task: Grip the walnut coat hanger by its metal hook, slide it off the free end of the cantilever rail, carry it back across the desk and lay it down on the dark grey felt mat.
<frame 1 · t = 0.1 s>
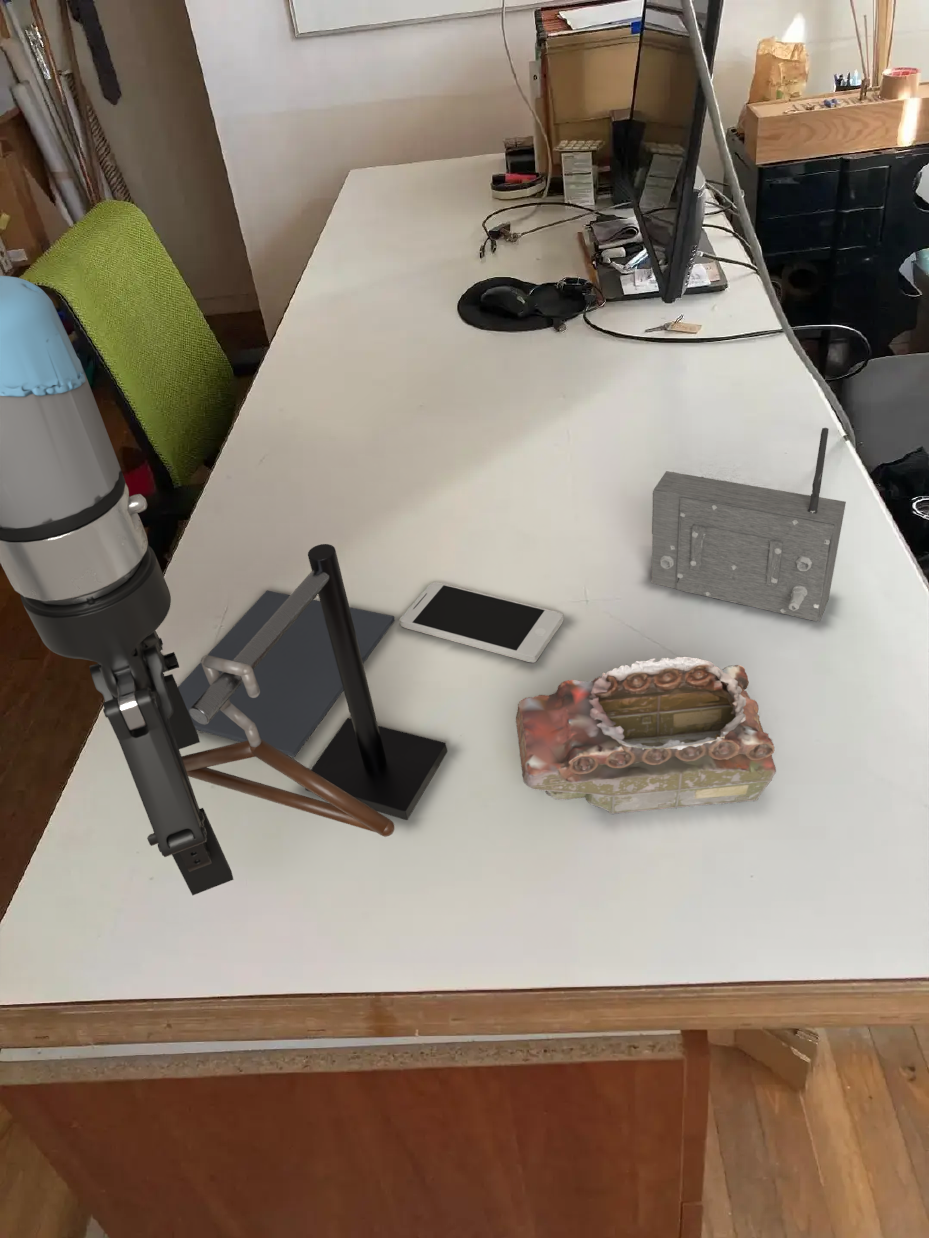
hand: (195, 809, 65), 11 cm above the table, tool pointing down, fingers open, 13 cm apart
smartphone: (481, 624, 95), on the table
electronic device: (731, 600, 94), on the table
rail stand: (377, 770, 81), on the table
felt mat: (279, 667, 93), on the table
decorative box: (642, 798, 76), on the table
hanger: (233, 683, 59), point 22 cm above the table, touching rail stand
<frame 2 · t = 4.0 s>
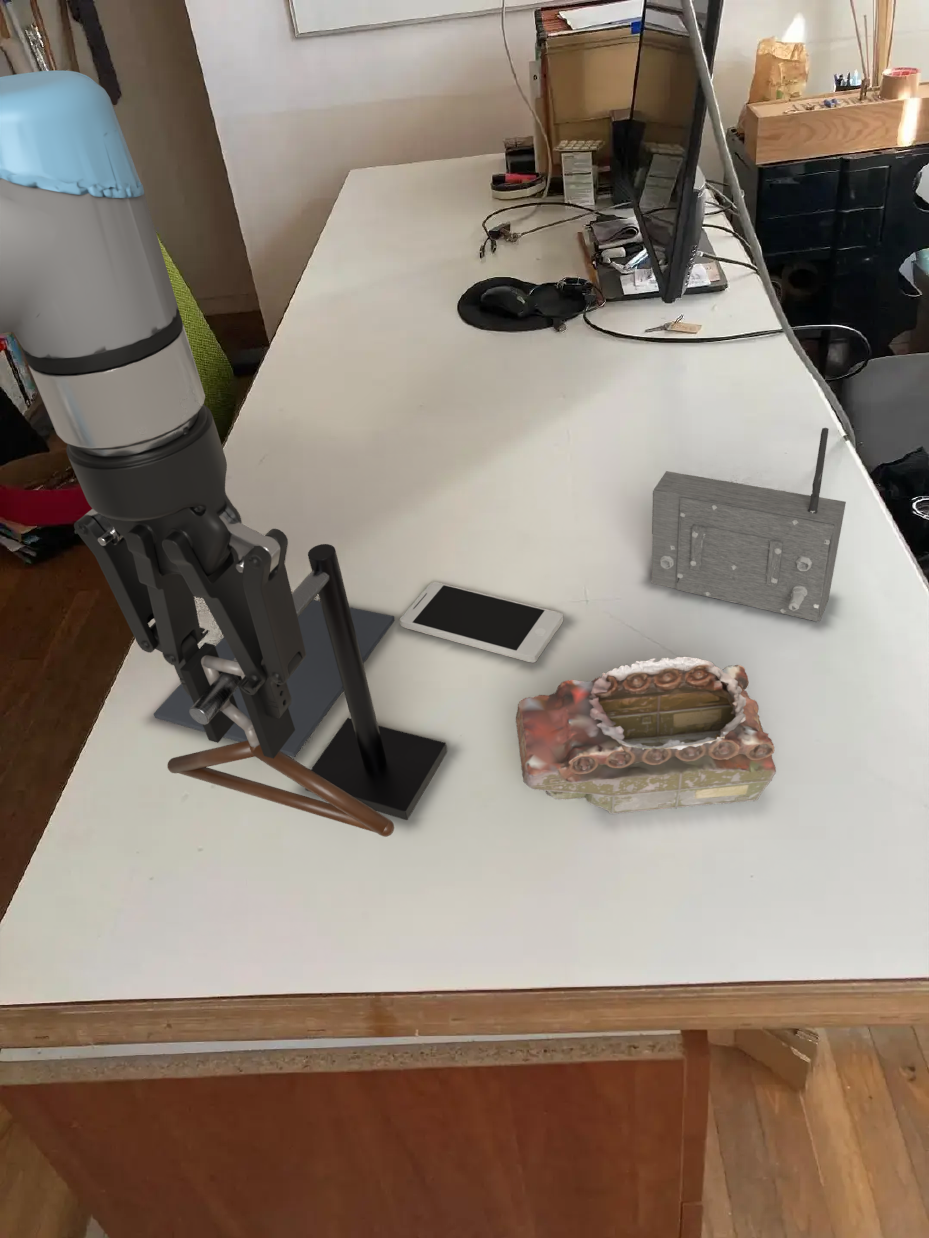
hand: (251, 734, 62), 17 cm above the table, tool pointing down, fingers closed on hanger, 4 cm apart
hanger: (233, 683, 59), point 22 cm above the table, touching gripper, rail stand
everything else where it was.
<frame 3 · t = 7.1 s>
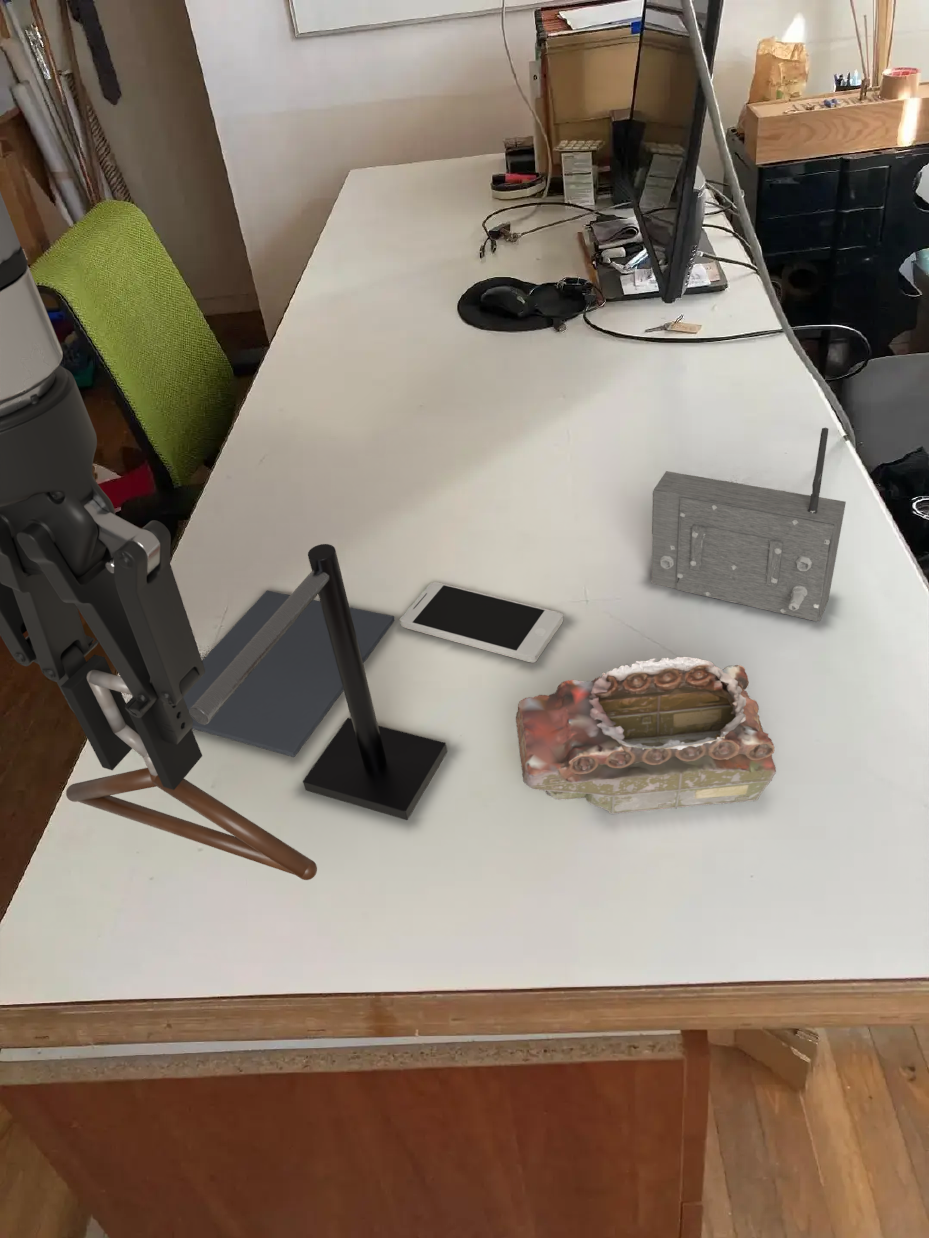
hand: (152, 760, 54), 22 cm above the table, tool pointing down, fingers closed on hanger, 4 cm apart
hanger: (125, 702, 51), point 27 cm above the table, touching gripper
everything else where it was.
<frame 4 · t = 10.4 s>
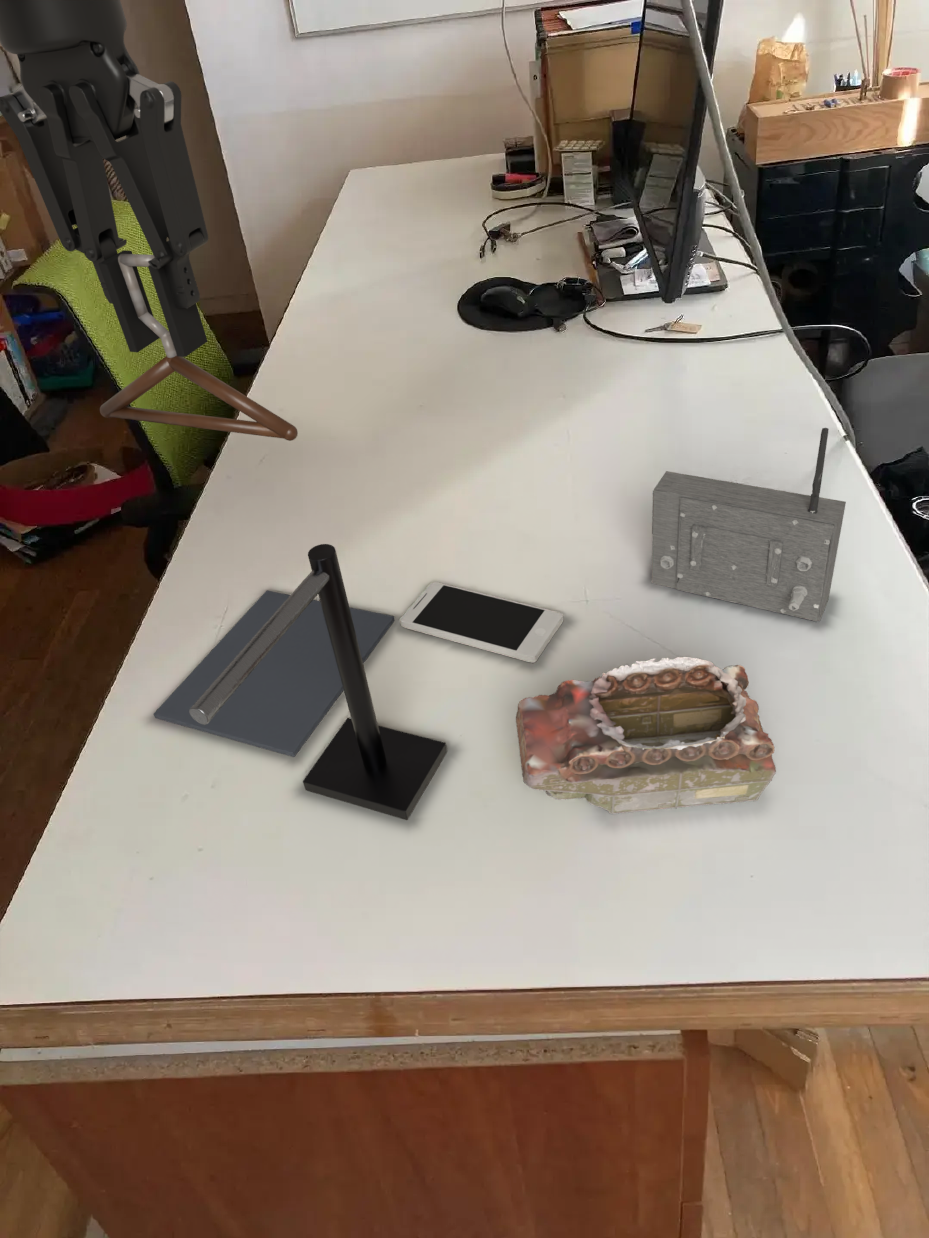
hand: (168, 346, 69), 35 cm above the table, tool pointing down, fingers closed on hanger, 4 cm apart
hanger: (147, 281, 66), point 40 cm above the table, touching gripper
everything else where it was.
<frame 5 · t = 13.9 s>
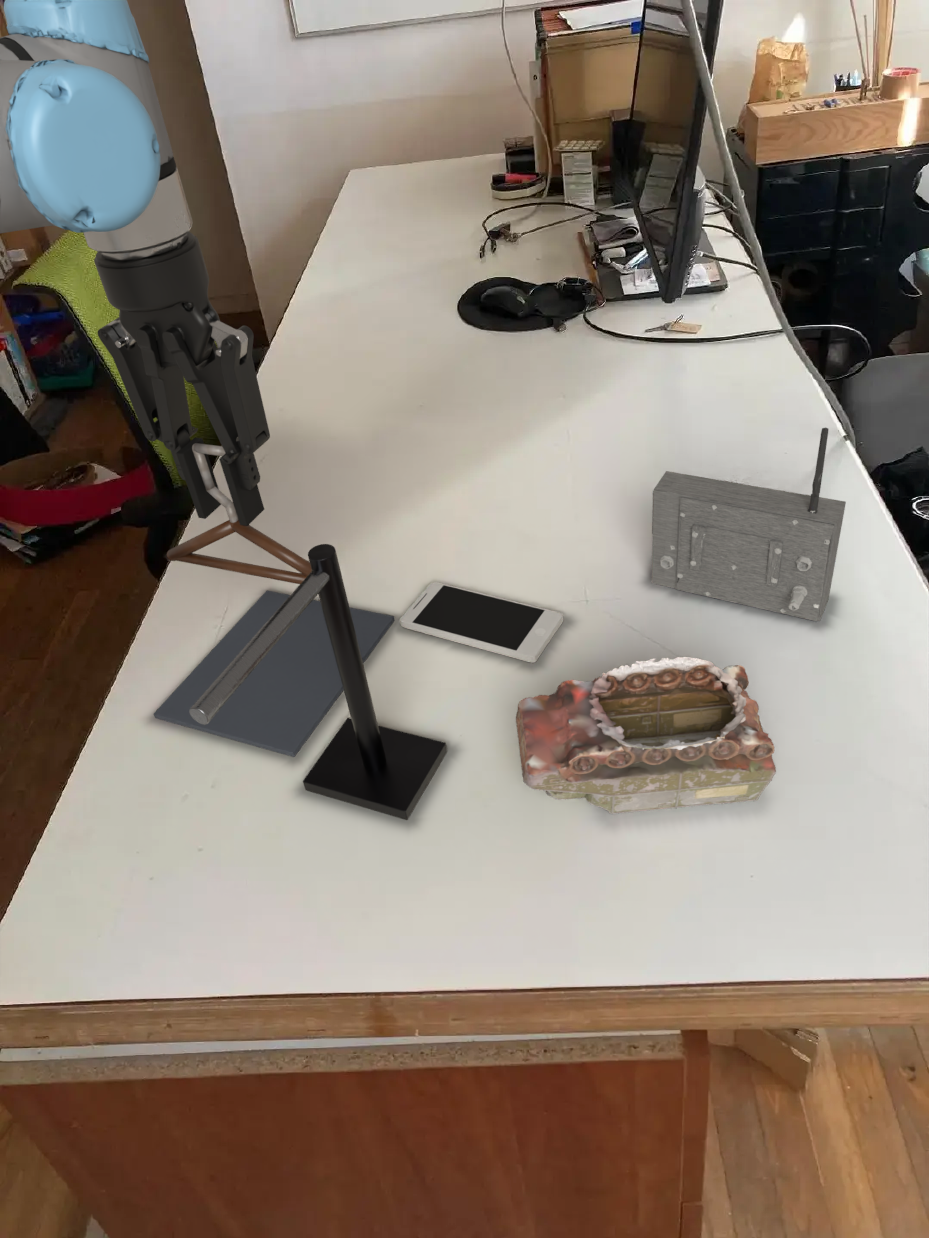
hand: (231, 513, 82), 18 cm above the table, tool pointing down, fingers closed on hanger, 4 cm apart
hanger: (216, 465, 79), point 23 cm above the table, touching gripper
everything else where it was.
when the fingers open (7 cm above the table, at t = 16.7 s): hanger drops 11 cm and tips over, resting on felt mat.
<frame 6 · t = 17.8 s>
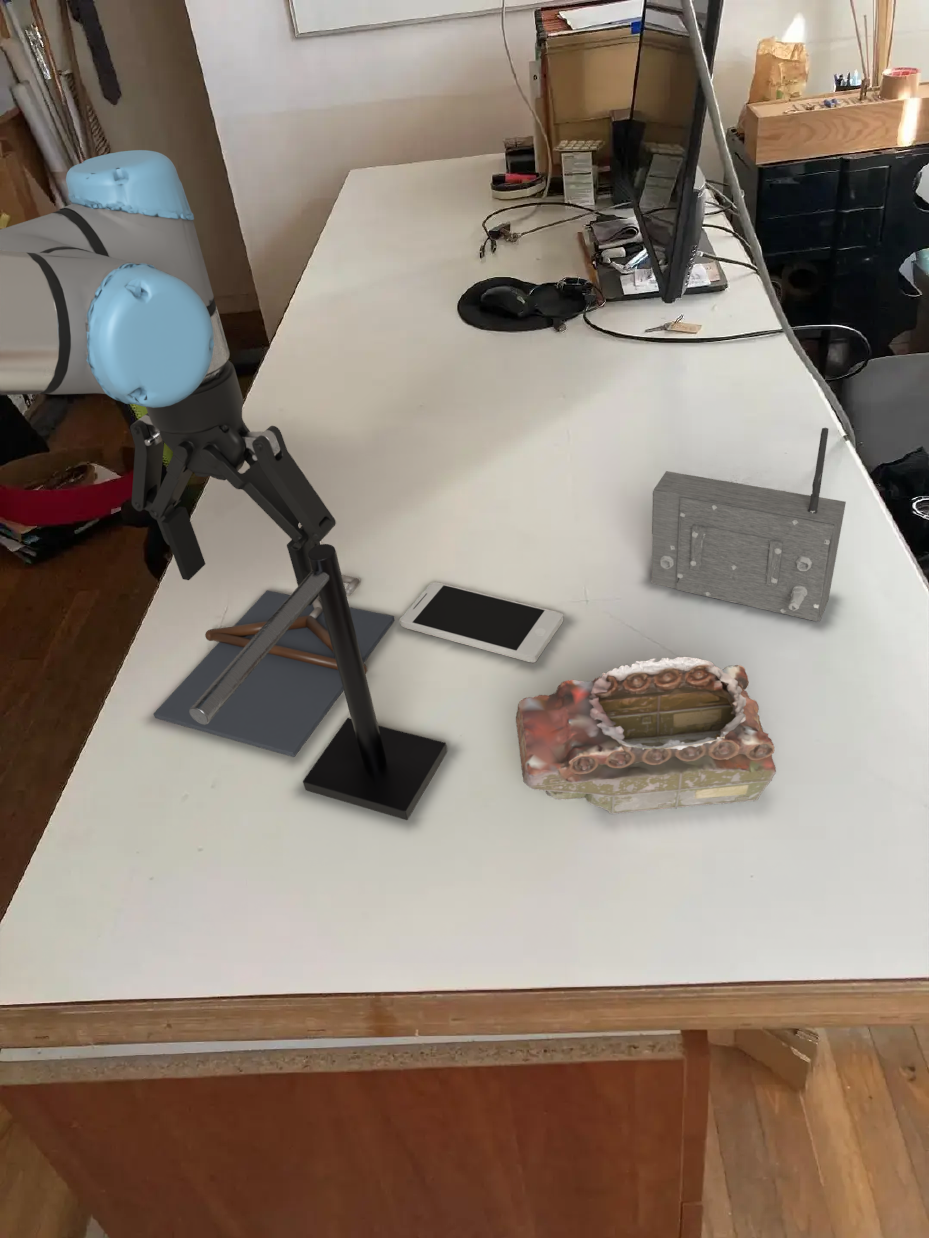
hand: (252, 583, 87), 11 cm above the table, tool pointing down, fingers open, 13 cm apart
hanger: (337, 587, 101), point 1 cm above the table, tilted 90°, touching felt mat
everything else where it was.
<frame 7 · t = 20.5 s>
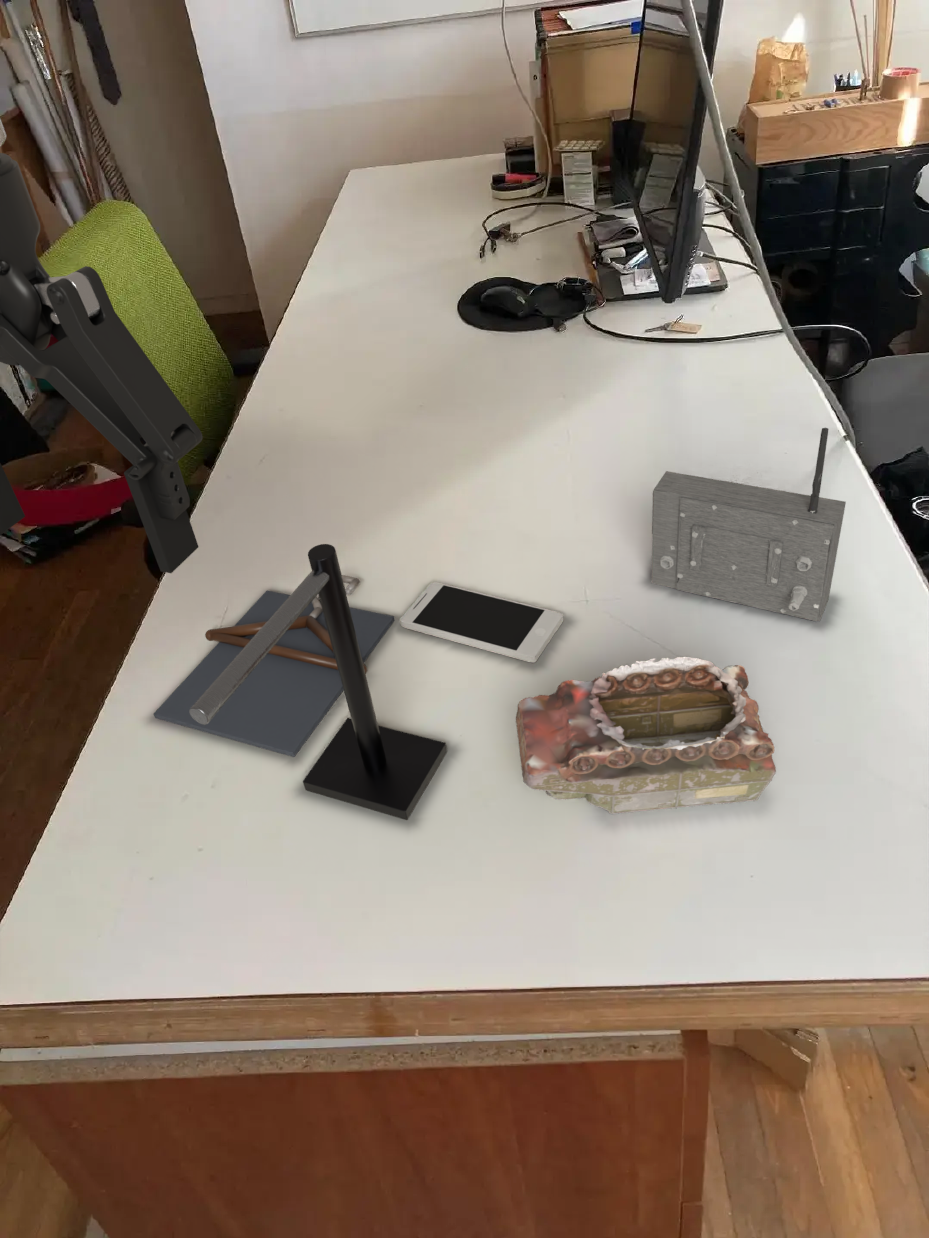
hand: (89, 543, 56), 31 cm above the table, tool pointing down, fingers open, 13 cm apart
nothing on the table moved.
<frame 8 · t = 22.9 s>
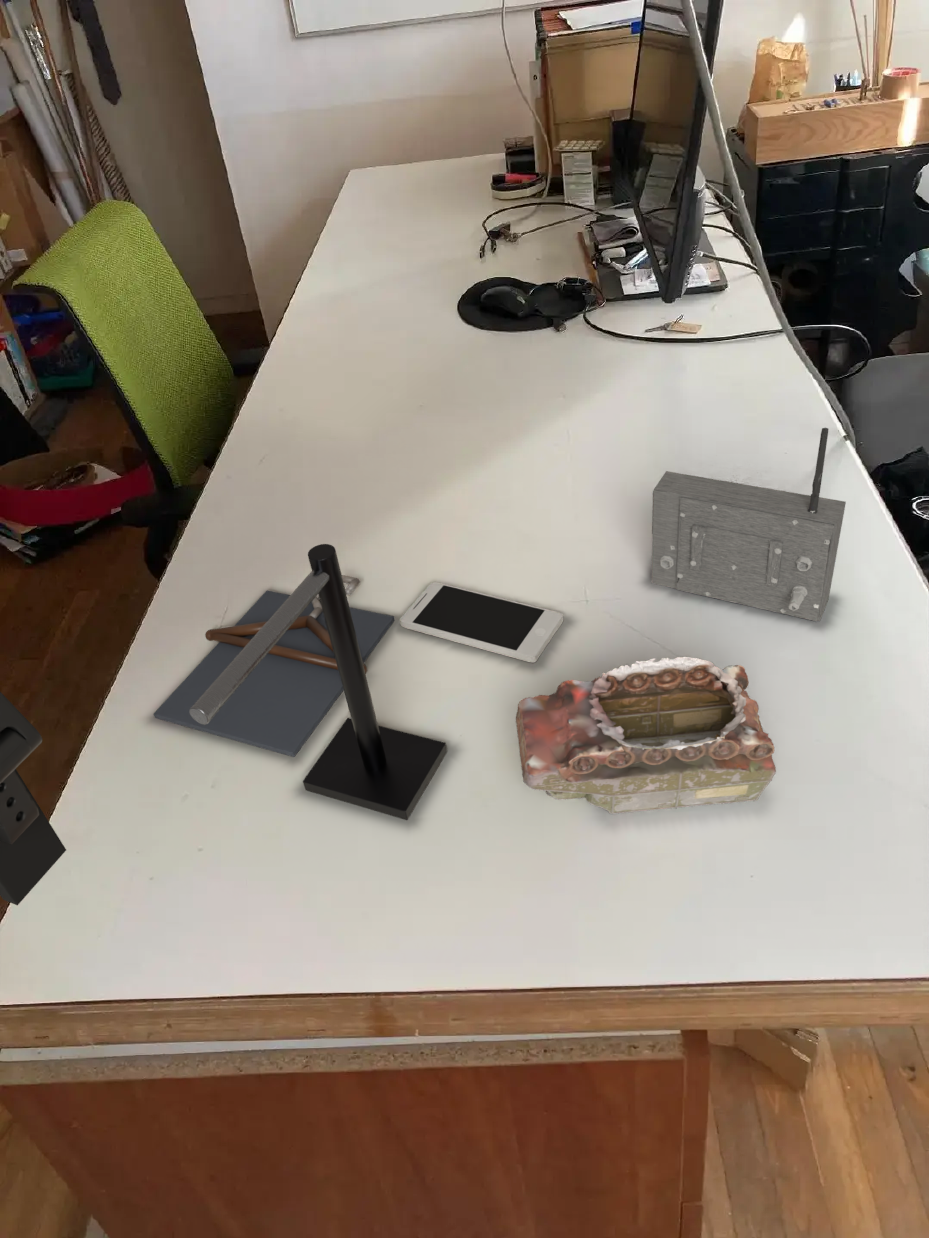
nothing on the table moved.
at the end: hanger inside the target area on the felt mat (12.0 cm from its centre), point 1.2 cm above the felt mat's base; hanger touching felt mat; the gripper is holding nothing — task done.
